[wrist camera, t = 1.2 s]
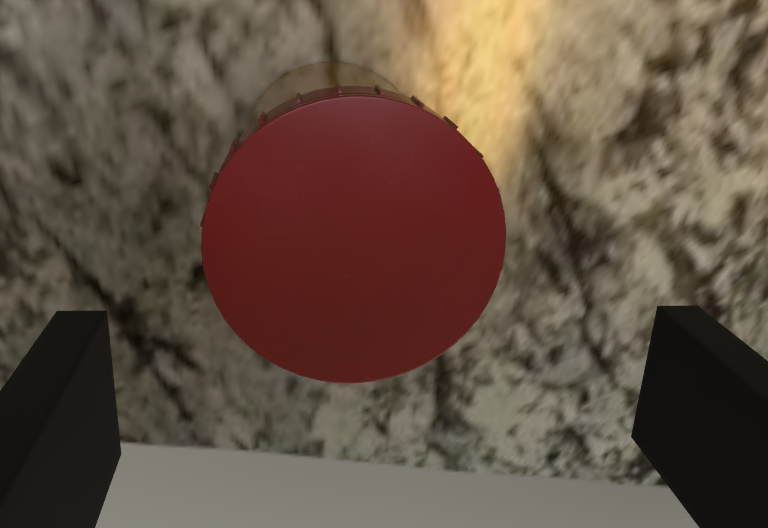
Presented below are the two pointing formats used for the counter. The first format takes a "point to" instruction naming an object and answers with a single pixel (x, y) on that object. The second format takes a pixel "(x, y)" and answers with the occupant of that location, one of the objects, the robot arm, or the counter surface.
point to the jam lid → (352, 235)
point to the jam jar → (314, 84)
